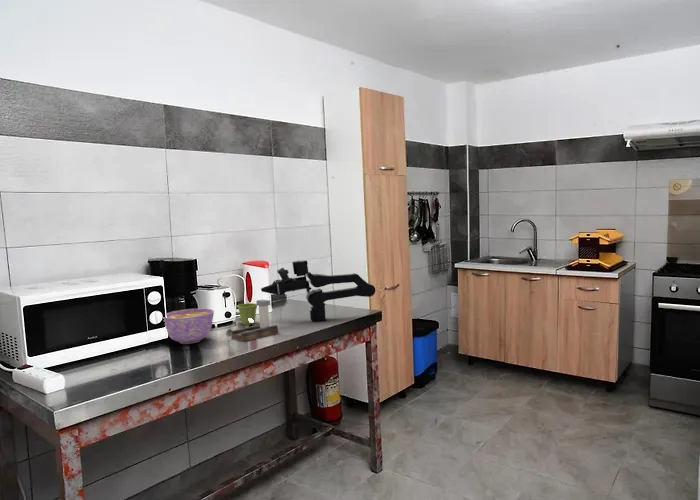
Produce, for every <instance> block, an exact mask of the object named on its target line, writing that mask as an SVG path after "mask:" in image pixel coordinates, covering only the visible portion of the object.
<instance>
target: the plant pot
mask: <svg viewBox="0 0 700 500" xmlns="http://www.w3.org/2000/svg"><path fill="white" fill-rule="evenodd" d="M236 307H237V308H238V311H239V317H240V321H241V325H246V326H247V325H248V326H249V325H251V324H250V323H249V321H248V318H252V319H253V320H254V324H255V323H256V314H257V308H258V305H257V303H254V302H253V303H252V302H251V303H250V302H249V303H240V304H238V305H237V306H236Z"/></svg>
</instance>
